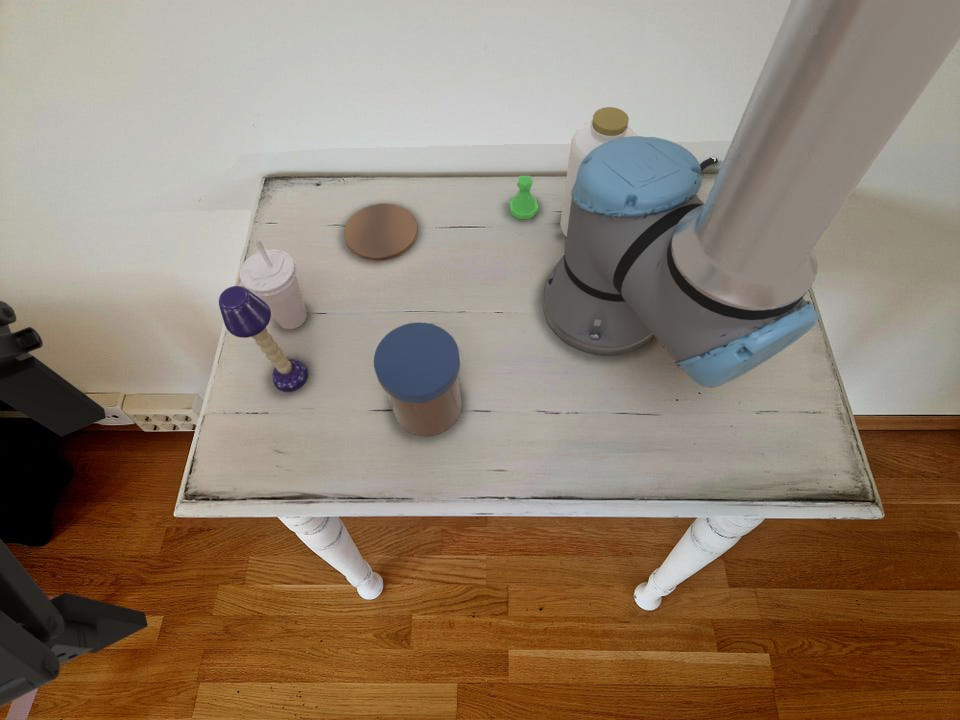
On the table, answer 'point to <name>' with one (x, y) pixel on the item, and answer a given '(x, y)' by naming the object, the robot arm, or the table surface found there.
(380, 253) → the coaster
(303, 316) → the smoothie
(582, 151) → the potion bottle
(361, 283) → the table surface
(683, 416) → the table surface
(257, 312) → the toy lamp
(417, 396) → the jar lid
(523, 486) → the table surface
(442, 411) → the jar
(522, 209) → the game piece
